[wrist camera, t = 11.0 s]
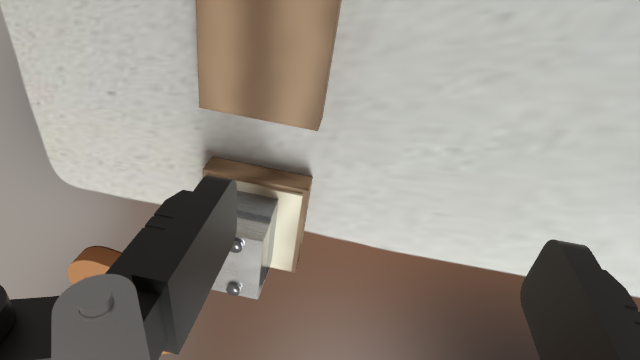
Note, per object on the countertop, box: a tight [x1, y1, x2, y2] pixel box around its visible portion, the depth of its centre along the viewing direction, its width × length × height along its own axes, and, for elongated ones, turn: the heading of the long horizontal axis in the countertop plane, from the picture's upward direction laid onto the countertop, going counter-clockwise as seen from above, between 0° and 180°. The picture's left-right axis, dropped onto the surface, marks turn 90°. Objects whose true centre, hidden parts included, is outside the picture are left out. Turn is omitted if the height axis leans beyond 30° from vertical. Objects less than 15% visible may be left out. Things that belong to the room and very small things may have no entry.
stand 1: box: [196, 0, 341, 131], centre depth 33 cm, size 11×12×3 cm
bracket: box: [67, 246, 170, 354], centre depth 53 cm, size 18×8×7 cm, turn 69°
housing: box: [211, 190, 279, 299], centre depth 40 cm, size 5×9×6 cm, turn 171°
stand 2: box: [203, 157, 313, 273], centre depth 44 cm, size 11×12×3 cm
